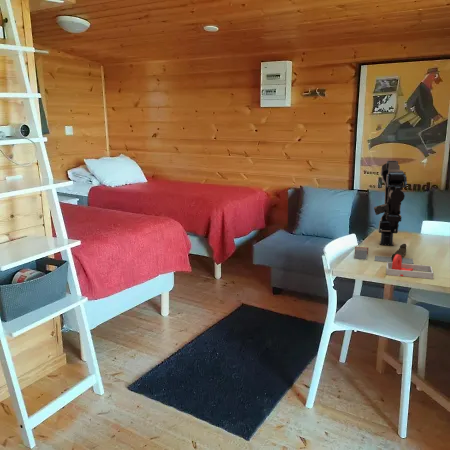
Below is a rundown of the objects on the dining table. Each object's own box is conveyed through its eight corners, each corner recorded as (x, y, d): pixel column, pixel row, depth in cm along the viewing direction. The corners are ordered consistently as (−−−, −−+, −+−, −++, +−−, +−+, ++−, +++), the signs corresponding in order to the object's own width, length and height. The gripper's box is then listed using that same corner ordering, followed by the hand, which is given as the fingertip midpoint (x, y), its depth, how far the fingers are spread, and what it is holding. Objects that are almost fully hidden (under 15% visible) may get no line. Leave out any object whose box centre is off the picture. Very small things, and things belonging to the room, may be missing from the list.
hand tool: (400, 263, 192) (401, 252, 191) (390, 261, 194) (391, 251, 193) (410, 253, 207) (411, 243, 206) (401, 252, 209) (402, 242, 208)
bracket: (402, 277, 175) (404, 258, 173) (391, 275, 178) (392, 256, 176) (414, 270, 184) (415, 252, 182) (403, 268, 187) (404, 250, 185)
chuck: (355, 255, 204) (355, 247, 203) (366, 256, 203) (367, 248, 202) (354, 258, 200) (355, 250, 199) (366, 259, 198) (366, 250, 197)
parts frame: (386, 267, 186) (386, 262, 186) (430, 271, 181) (431, 265, 180) (386, 274, 177) (386, 269, 177) (433, 278, 172) (433, 273, 171)
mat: (374, 256, 203) (374, 255, 203) (412, 259, 198) (412, 258, 198) (374, 260, 196) (374, 260, 196) (413, 264, 191) (413, 263, 191)
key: (354, 253, 207) (355, 246, 206) (368, 254, 205) (368, 247, 204) (353, 256, 201) (354, 250, 200) (367, 258, 199) (368, 251, 198)
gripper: (375, 195, 212) (373, 227, 215) (375, 201, 194) (373, 236, 198) (400, 196, 208) (398, 228, 212) (402, 202, 191) (400, 238, 194)
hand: (391, 232), depth 204 cm, fingers closed
